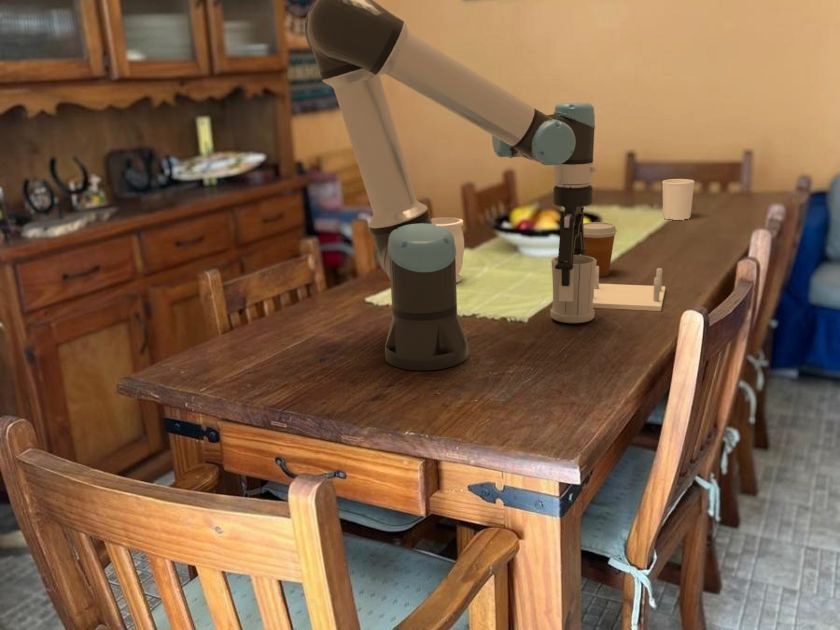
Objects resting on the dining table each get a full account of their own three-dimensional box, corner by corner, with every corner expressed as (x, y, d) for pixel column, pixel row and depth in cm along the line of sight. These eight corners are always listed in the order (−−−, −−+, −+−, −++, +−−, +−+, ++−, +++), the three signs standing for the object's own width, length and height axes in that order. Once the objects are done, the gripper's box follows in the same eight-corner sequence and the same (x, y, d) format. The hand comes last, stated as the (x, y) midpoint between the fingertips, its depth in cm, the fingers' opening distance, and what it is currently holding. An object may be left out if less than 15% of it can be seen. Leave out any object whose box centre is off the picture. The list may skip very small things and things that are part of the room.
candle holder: (654, 218, 264) (655, 181, 260) (677, 214, 268) (679, 178, 264) (675, 222, 255) (677, 184, 252) (699, 218, 259) (701, 181, 256)
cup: (535, 315, 166) (535, 258, 163) (563, 306, 172) (565, 251, 168) (575, 326, 158) (577, 266, 155) (604, 316, 164) (606, 259, 161)
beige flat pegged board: (660, 311, 168) (662, 283, 166) (582, 307, 173) (583, 279, 171) (665, 290, 182) (666, 264, 180) (592, 287, 187) (593, 262, 185)
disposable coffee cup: (571, 276, 197) (571, 228, 194) (582, 267, 205) (583, 220, 202) (609, 279, 193) (610, 230, 190) (620, 270, 201) (621, 222, 198)
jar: (461, 287, 193) (459, 225, 188) (419, 286, 195) (416, 225, 191) (468, 276, 203) (466, 216, 198) (427, 275, 205) (425, 217, 200)
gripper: (583, 194, 146) (580, 310, 153) (600, 176, 167) (596, 279, 174) (542, 193, 149) (541, 307, 155) (563, 176, 170) (561, 278, 176)
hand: (570, 293), depth 164 cm, fingers closed on cup, 11 cm apart
